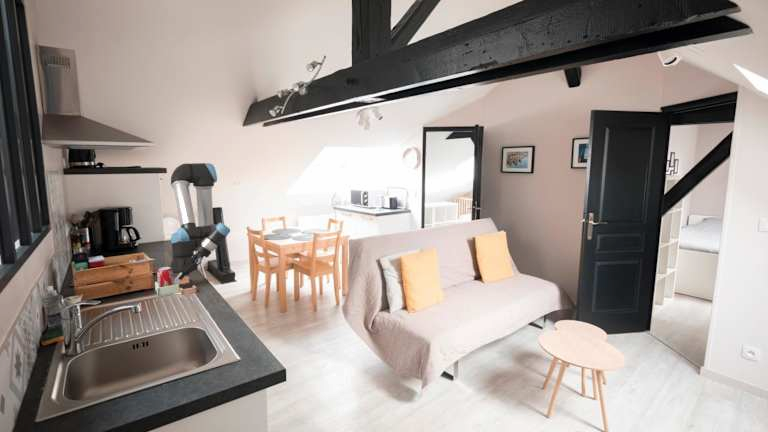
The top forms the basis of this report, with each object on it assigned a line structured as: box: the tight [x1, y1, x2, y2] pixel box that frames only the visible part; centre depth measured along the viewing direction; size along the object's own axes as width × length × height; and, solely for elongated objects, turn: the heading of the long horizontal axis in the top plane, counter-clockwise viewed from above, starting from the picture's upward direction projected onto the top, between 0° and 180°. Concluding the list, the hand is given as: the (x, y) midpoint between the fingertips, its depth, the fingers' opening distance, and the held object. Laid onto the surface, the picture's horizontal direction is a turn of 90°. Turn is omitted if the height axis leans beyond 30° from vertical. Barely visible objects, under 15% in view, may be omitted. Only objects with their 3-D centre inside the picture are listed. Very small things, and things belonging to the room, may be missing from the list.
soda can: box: [156, 266, 174, 287], centre depth 197 cm, size 7×7×12 cm
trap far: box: [179, 275, 191, 286], centre depth 209 cm, size 7×4×2 cm, turn 127°
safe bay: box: [154, 278, 180, 297], centre depth 197 cm, size 10×12×4 cm
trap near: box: [179, 285, 198, 296], centre depth 195 cm, size 7×4×2 cm, turn 127°
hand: (174, 283), depth 199 cm, fingers closed
